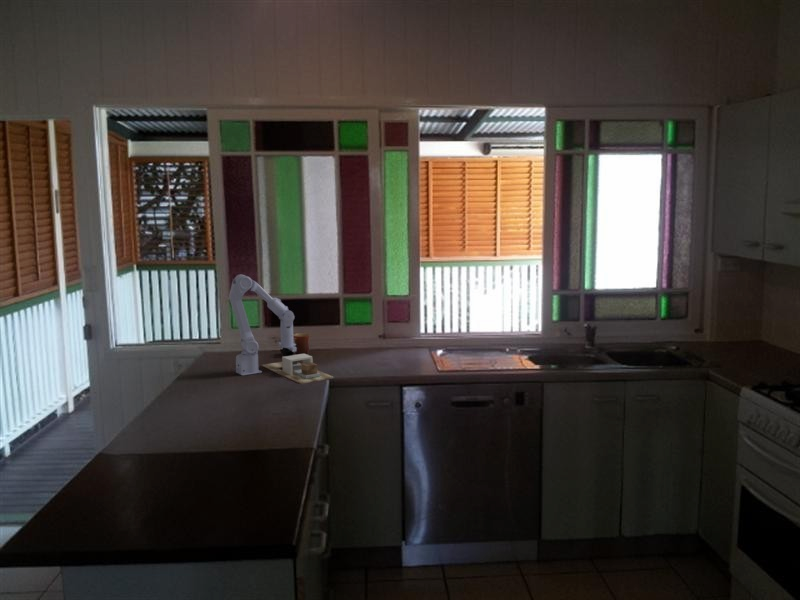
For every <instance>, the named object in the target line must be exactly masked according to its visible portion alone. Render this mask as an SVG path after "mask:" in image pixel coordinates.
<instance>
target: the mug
mask: <svg viewBox="0 0 800 600" xmlns="http://www.w3.org/2000/svg"><path fill="white" fill-rule="evenodd" d="M310 337H311V333H307V332H304V333H302V332H299V333H293V343H294V344H296V345H295V347H296V350H297V351H295V352H294V355H298V354H307V355H309V353H310Z"/></svg>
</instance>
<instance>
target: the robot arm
mask: <svg viewBox="0 0 800 600" xmlns="http://www.w3.org/2000/svg"><path fill="white" fill-rule="evenodd" d="M248 291H251V292H255V293H256V294H257V295H258V296H259V297H260V298H262V299H263V300H264V301H265V302H266V304H267V305H266V306H267V308H268V309H269V310H270V311H272V313H274V315H276V316H277V318H278V319H279V320H280V342H278V347H279V348H280V349H279V351H280V353H281V355H282V357H284V356H291V355H294V354H295V351H297V350H296V347H295V345H296V344H295V342H294V340H293V335H294V320H295V317H296V316H295V314H294V312H293V311H292V310H289V307H288V306H287V305H285V304H284V303H283V302H282V299H280V298H277V297H272V296H271V295H270V294H269V293H268V292H267V291H266V290H265V288H263V287H262V286H261V285H260V284H259V283H258V282H257V281H255V280H253V279H252V278H251V277H250V276H248V275H245V274H241V273H240V274H237V275H236V276H235V277H234V279H232V282H231V287H230V291H229V294H228V297H229V302H230V304H231V308H232V311H233V315H234V318H235V321H236V325H237V327H238V330H239V337H240V343H239V345H240V347H241V349H242V351H241V353H240V354H236V357H235V373H237V374H238V375H241V376H249V375H254V374H261V373H263V371H262V370H261V369H259V351H258V350H259V349H260V346H259V343H258V342H257V341H256V339H255V336H254V335H253V332H252V329H251V326H250V323H249V319H248V316H247V313H246V310H245V309H246V308H245V307H244V304H243V300H242V299H243V297H244V295H245V294H246V292H248ZM281 348H282V349H281Z"/></svg>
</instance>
